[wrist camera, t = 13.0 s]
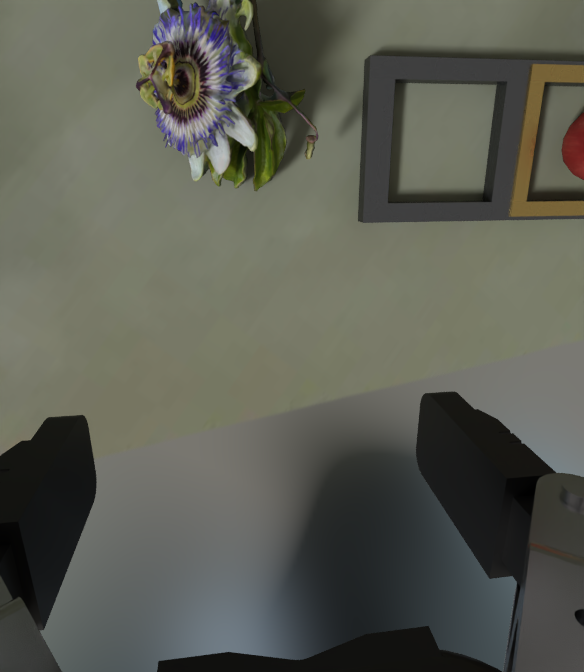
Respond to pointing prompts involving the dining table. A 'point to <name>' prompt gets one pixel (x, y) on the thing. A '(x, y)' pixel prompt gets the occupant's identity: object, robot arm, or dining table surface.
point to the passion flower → (216, 91)
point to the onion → (575, 147)
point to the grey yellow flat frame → (505, 142)
